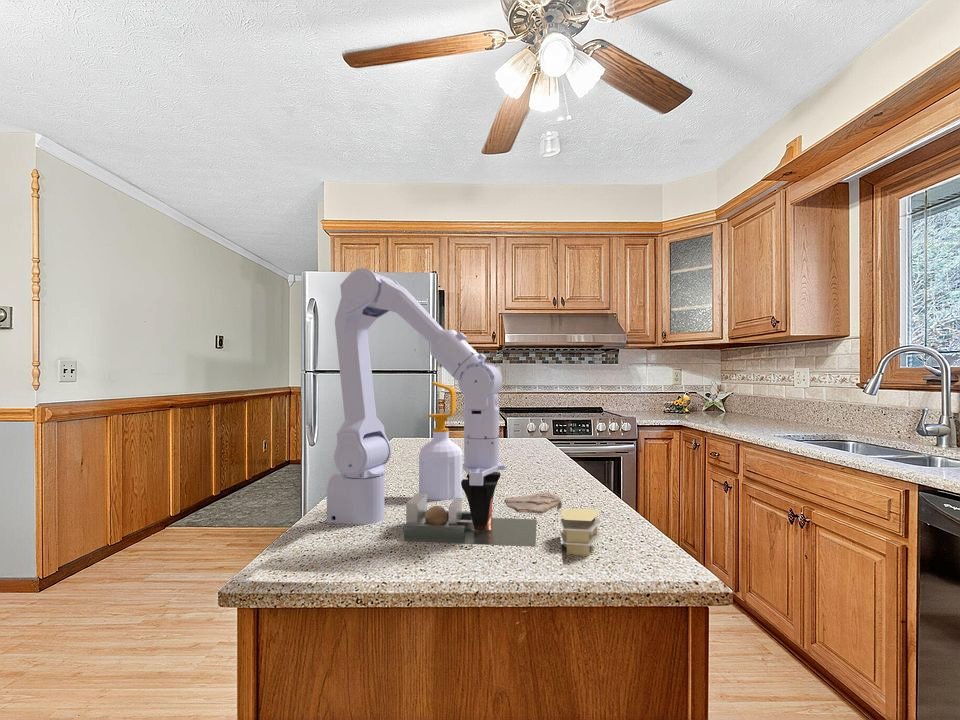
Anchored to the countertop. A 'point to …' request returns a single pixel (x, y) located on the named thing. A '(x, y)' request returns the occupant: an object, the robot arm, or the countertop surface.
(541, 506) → the stone
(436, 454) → the soap bottle
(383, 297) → the robot arm
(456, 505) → the ram
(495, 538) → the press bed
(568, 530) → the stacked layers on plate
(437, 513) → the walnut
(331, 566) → the countertop surface
